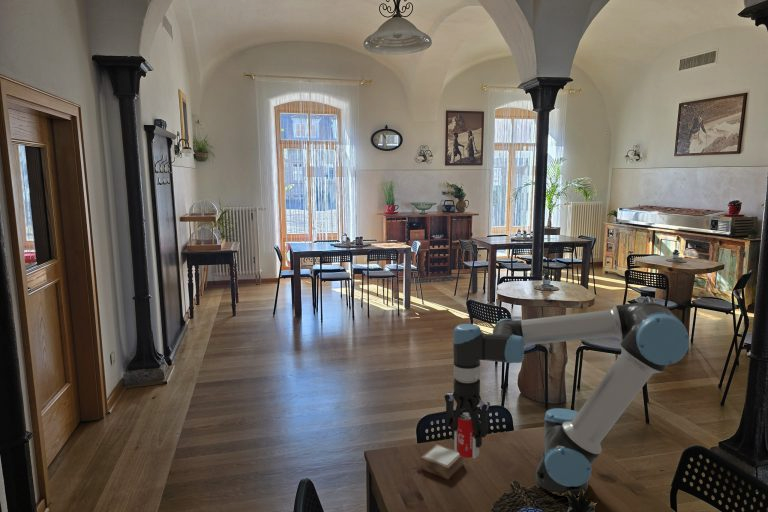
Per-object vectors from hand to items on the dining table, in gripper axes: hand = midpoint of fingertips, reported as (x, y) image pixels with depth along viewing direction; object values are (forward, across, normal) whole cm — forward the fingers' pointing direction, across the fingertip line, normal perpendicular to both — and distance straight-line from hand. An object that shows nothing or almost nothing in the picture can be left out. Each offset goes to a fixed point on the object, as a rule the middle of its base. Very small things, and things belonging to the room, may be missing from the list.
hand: (466, 453), depth 150 cm
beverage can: (+1, 0, 0) cm, 1 cm away
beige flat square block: (+13, +13, -8) cm, 20 cm away
